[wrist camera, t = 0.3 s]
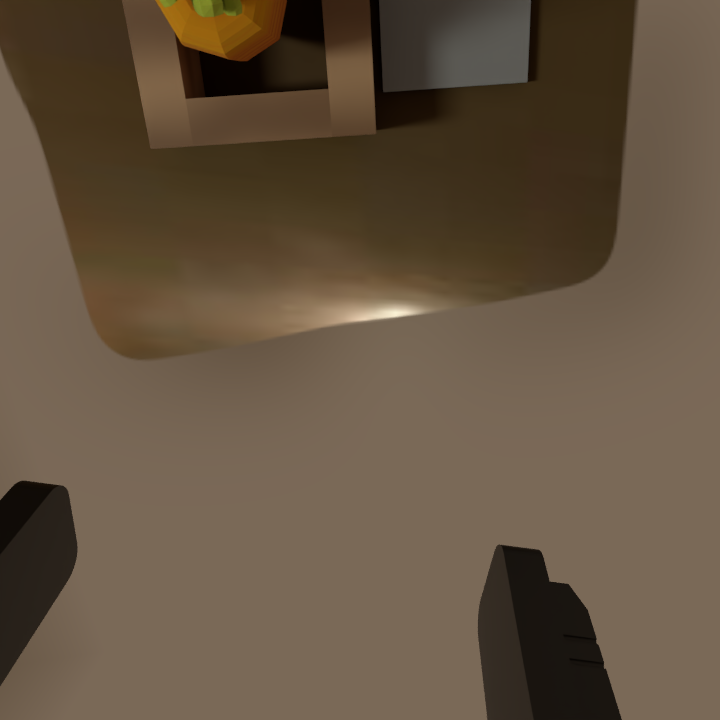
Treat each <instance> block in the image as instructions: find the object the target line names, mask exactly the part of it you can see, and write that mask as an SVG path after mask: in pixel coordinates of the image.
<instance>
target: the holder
mask: <svg viewBox="0 0 720 720" xmlns="http://www.w3.org/2000/svg"><path fill="white" fill-rule="evenodd" d="M122 2H123V7H124V12H125V17H126V23H127V28H128V33H129V38H130V43H131V49H132V54H133V59H134V64H135V69H136V75H137V80H138V85H139V90H140V95H141V101H142V106H143V111H144V116H145V121H146V127H147V132H148V137H149V142H150V147H151V149H159V148H174V147H189V146H203V145H218V144H233V143H248V142H263V141H278V140H293V139H308V138H323V137H338V136H353V135H367V134H376V117H375V97H374V76H373V56H372V36H371V16H370V0H322V10H323V23H324V36H325V49H326V62H327V75H328V88H329V89H318V90H304V91H290V92H276V93H262V94H248V95H234V96H219V97H206V96H205V90H204V83H203V77H202V70H201V63H200V57H199V50H196V49H192V48H189V47H186V46H184V45H182V43H181V42H180V40H179V38H178V37H177V35H176V34H175V32H174V30H173V29H172V27H171V25H170V24H169V22H168V20H167V19H166V17H165V15H164V14H163V12H162V11H161V9H160V7H159V6H158V4H157V2H156V1H155V0H122Z"/></svg>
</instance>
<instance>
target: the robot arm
mask: <svg viewBox="0 0 720 720" xmlns="http://www.w3.org/2000/svg"><path fill="white" fill-rule="evenodd" d="M76 557H77V540H76V534H75V528H74V522H73V516H72V511H71V505H70V499H69V494H68V491H67V489H66V488H65V487H64V486H60V485H53V484H45V483H37V482H30V481H20V482H18V483H16V484H15V485H14V486H13V487H12V488H11V489H10V490H9V491H8V492H7V493H6V494H5V495H4V497H3V498H2V499H1V500H0V686H1V684H2V682H3V681H4V679H5V678H6V676H7V675H8V673H9V672H10V670H11V668H12V667H13V665H14V664H15V662H16V660H17V659H18V657H19V656H20V654H21V653H22V651H23V649H24V648H25V647H26V645H27V644H28V642H29V640H30V639H31V637H32V636H33V634H34V633H35V631H36V630H37V628H38V626H39V625H40V623H41V622H42V620H43V619H44V617H45V615H46V614H47V612H48V611H49V609H50V608H51V606H52V605H53V603H54V601H55V600H56V598H57V597H58V595H59V593H60V592H61V591H62V589H63V587H64V586H65V584H66V583H67V581H68V579H69V578H70V576H71V574H72V571H73V569H74V565H75V562H76ZM478 638H479V647H480V656H481V665H482V673H483V683H484V692H485V701H486V709H487V719H488V720H622V719H621V716H620V713H619V709H618V706H617V703H616V700H615V697H614V693H613V690H612V687H611V684H610V680H609V677H608V674H607V671H606V669H604V661H603V658H602V655H601V651H600V648H599V645H598V644H596V635H595V632H594V629H593V626H592V623H591V619H590V616H589V613H588V610H587V609H586V607H585V606H584V604H583V603H582V602H581V600H580V599H579V598H578V596H577V595H576V594H575V592H574V591H573V590H572V588H571V587H570V586H569V584H564V583H556V582H549V577H548V574H547V570H546V566H545V562H544V558H543V555H542V553H541V551H540V550H536V549H529V548H521V547H513V546H506V545H498V546H497V547H496V549H495V552H494V555H493V558H492V562H491V565H490V569H489V572H488V576H487V580H486V583H485V586H484V590H483V593H482V597H481V601H480V606H479V614H478Z"/></svg>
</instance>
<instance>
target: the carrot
mask: <svg viewBox="0 0 720 720" xmlns="http://www.w3.org/2000/svg"><path fill="white" fill-rule="evenodd" d="M155 1H156V2H157V4H158V6H159V7H160V9H161V11H162V12H163V14H164V15H165V17H166V19H167V20H168V22H169V24H170V25H171V27H172V29H173V30H174V32H175V34H176V35H177V37H178V38H179V40H180V42H181V43H182V45H184V46H186V47H189V48H192V49H196V50H199V51H203V52H206V53H209V54H213V55H216V56H219V57H223V58H226V59H229V60H235V61H248V60H250V59H251V58H253V57H254V56H256V55H257V54H259V53H260V52H262V51H263V50H265V49H266V48H268V47H269V46H271V45H272V44H274V43H275V42H276V41H278V40H279V39H280V35H281V29H282V24H283V19H284V14H285V8H286V3H287V0H155Z"/></svg>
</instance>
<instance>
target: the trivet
mask: <svg viewBox="0 0 720 720" xmlns="http://www.w3.org/2000/svg"><path fill="white" fill-rule="evenodd" d="M379 12H380V34H381V57H382V79H383V92H395V91H410V90H424V89H438V88H452V87H466V86H480V85H495V84H509V83H523V82H527V81H528V58H529V35H530V12H531V0H379Z"/></svg>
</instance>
